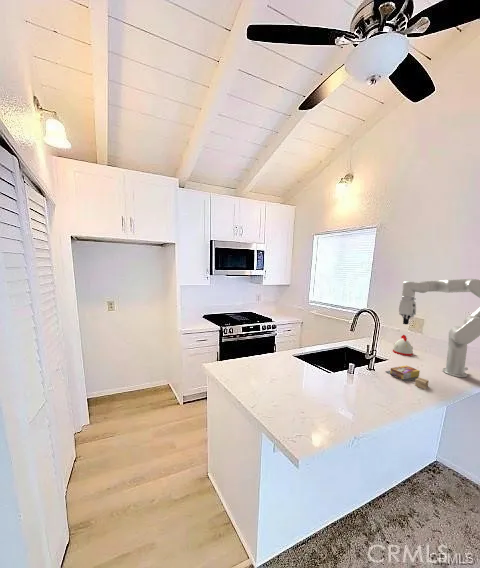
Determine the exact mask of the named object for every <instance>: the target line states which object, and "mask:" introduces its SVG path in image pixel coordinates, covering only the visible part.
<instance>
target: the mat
mask: <svg viewBox="0 0 480 568" xmlns="http://www.w3.org/2000/svg"><path fill="white" fill-rule="evenodd" d="M390 371H391V370H386V371H385V373H387V374H389V375H390V376H392V377H395V378H397V379H398V380H401V381H403V382H410V381H415V380H416V379H417V378H418V377H414V378H409V379H401V378H398V377H396V376H394V375H392V374H390Z"/></svg>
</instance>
